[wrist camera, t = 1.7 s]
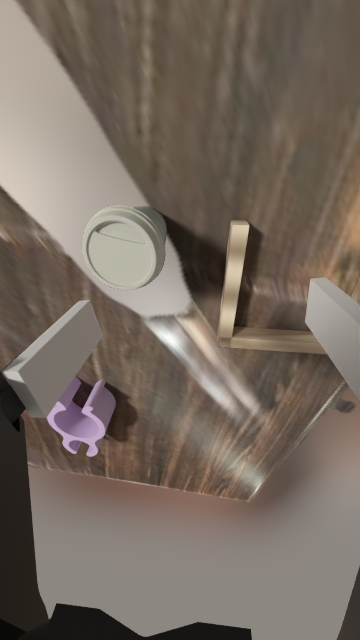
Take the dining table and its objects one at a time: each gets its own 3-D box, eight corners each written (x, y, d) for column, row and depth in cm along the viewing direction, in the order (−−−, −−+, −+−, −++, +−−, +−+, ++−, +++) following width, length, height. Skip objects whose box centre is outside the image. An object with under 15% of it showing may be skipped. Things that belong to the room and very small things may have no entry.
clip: (116, 432, 63) (107, 459, 57) (70, 424, 63) (56, 450, 57) (115, 381, 52) (103, 408, 46) (59, 371, 52) (41, 397, 46)
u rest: (230, 219, 31) (232, 224, 29) (400, 224, 30) (419, 230, 27) (217, 334, 42) (217, 346, 39) (342, 343, 40) (352, 356, 37)
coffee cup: (189, 229, 33) (180, 257, 23) (150, 270, 37) (127, 309, 27) (141, 178, 30) (107, 185, 20) (105, 228, 34) (61, 255, 24)
